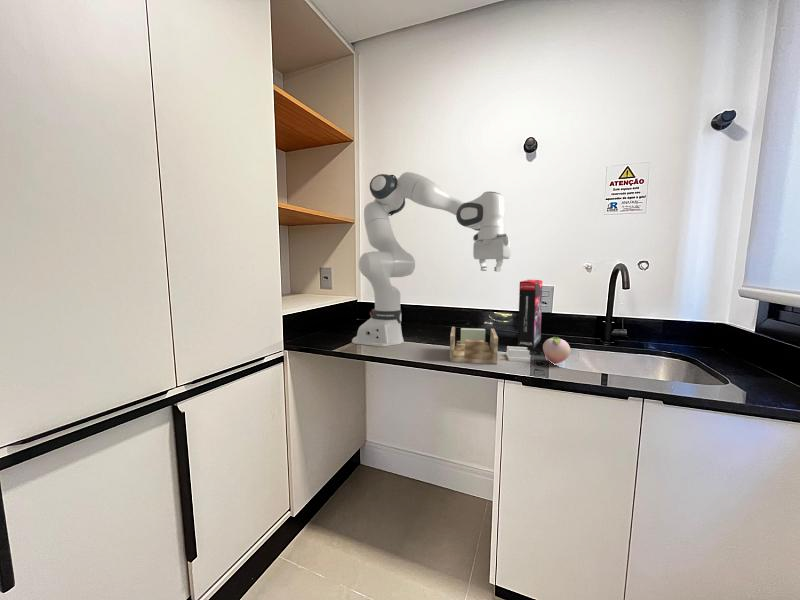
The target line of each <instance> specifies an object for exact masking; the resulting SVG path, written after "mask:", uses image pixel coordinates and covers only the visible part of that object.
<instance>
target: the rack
mask: <svg viewBox="0 0 800 600" xmlns="http://www.w3.org/2000/svg"><path fill="white" fill-rule="evenodd" d="M449 337H450V339H449V340H450V341H449V343H450V344H449V362H454V363H455V362H456V363H469V364H470V363H473V364H488V365H498V354H499V353H498V348H499V337H498V335H497V332H496V330H495V328H490V342H485V345H484V351H482V359H468V358H464V350H465V344H460V342H461V340H456V327H455V326H451V330H450V335H449ZM455 344H456V345H455Z"/></svg>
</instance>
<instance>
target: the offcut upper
mask: <svg viewBox="0 0 800 600" xmlns="http://www.w3.org/2000/svg"><path fill="white" fill-rule="evenodd" d="M465 348H466V350H476V351H484V341H483V340H469V339H466V340H465Z"/></svg>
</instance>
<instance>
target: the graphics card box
mask: <svg viewBox="0 0 800 600" xmlns="http://www.w3.org/2000/svg"><path fill="white" fill-rule="evenodd" d="M518 291H519V294H518V296H519V298H518V300H519V301H518V326H517V327H518V331H517V347H527V349H535V348H536V346H537V345H538V344H539V342H540V341H541V338H542V335H541V333H542V308H543V307H542V306H543V280H540V279H527V280H525V279H524V280H522V281H519V290H518Z"/></svg>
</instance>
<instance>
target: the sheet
mask: <svg viewBox="0 0 800 600" xmlns="http://www.w3.org/2000/svg"><path fill="white" fill-rule="evenodd" d="M466 339H469V340H483V341H484V345H485V343H486V329H485V328H467V327H466V328H465V327H461V328H460V341H461V342H460V344H465V340H466Z"/></svg>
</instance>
